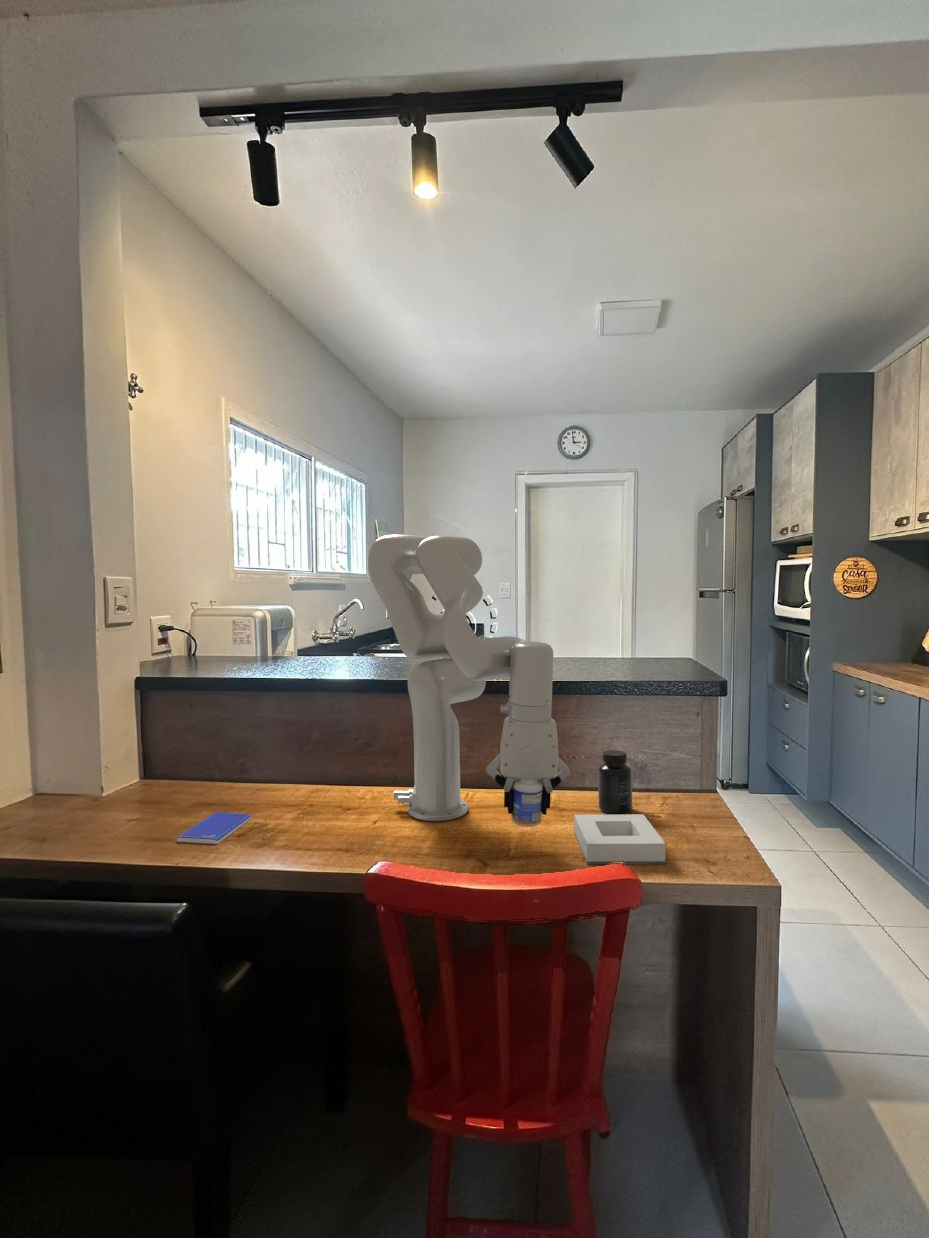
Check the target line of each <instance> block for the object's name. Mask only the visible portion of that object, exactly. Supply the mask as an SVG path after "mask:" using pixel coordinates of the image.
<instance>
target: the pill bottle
mask: <svg viewBox="0 0 929 1238" xmlns="http://www.w3.org/2000/svg"><path fill="white" fill-rule="evenodd" d="M543 785H544V782H543V781H542V780H541V779H525V778H514V781H513V784H512V790H513V812H512V813H511V821H512V823H514V824H515V825H516V826H520V827H525V828H533V827H537V826H540V824H541V822H542V815H543V814H542V794H543Z"/></svg>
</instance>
